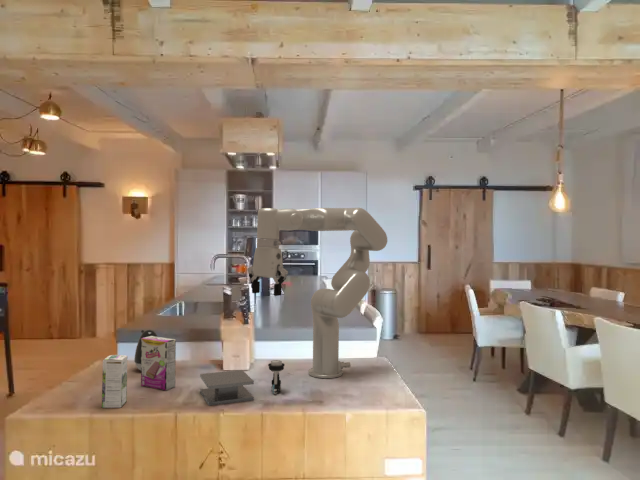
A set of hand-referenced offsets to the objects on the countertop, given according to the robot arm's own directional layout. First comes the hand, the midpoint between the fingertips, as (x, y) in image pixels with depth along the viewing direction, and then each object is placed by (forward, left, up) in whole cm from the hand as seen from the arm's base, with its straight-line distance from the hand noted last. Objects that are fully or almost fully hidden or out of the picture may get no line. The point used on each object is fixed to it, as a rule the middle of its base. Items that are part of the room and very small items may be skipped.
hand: (266, 294), depth 178 cm
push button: (-1, +9, -31) cm, 33 cm away
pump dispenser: (+35, -34, -31) cm, 58 cm away
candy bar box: (+34, -11, -31) cm, 48 cm away
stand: (+15, +7, -31) cm, 35 cm away
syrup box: (+48, +3, -31) cm, 58 cm away
